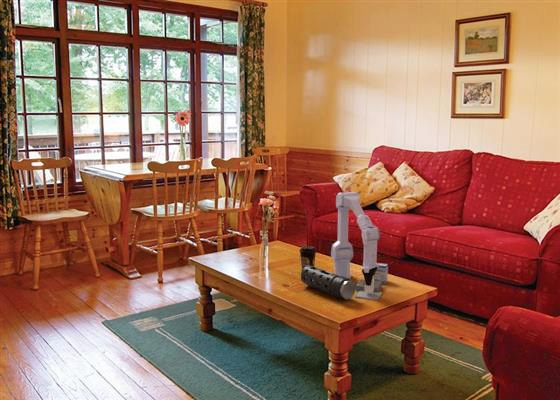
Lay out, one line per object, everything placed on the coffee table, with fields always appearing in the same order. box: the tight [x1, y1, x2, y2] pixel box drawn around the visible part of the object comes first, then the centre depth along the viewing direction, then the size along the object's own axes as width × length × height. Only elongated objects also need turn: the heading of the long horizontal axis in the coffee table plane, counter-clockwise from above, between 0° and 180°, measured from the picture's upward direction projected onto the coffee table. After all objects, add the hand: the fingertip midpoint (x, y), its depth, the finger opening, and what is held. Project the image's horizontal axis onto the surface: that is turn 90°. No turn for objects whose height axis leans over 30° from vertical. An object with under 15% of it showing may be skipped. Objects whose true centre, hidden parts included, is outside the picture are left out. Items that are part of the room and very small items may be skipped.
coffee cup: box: [299, 245, 317, 272], centre depth 279 cm, size 9×8×13 cm
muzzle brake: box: [300, 265, 356, 301], centre depth 246 cm, size 10×28×10 cm, turn 36°
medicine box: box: [374, 262, 389, 284], centre depth 264 cm, size 8×4×9 cm, turn 70°
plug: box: [364, 275, 374, 293], centre depth 243 cm, size 4×4×8 cm
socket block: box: [355, 279, 383, 292], centre depth 253 cm, size 10×10×2 cm
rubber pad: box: [354, 290, 383, 301], centre depth 244 cm, size 10×10×1 cm
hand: (369, 283), depth 243 cm, fingers closed on plug, 4 cm apart
